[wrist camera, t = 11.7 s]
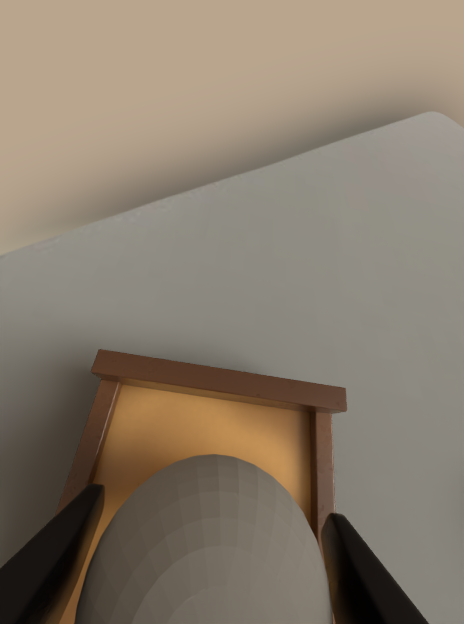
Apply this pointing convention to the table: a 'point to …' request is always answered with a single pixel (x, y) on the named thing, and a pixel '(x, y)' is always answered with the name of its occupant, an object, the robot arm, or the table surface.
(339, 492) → the table surface
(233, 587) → the light bulb
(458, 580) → the table surface
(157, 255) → the table surface
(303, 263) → the table surface
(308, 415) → the brown wooden tray
